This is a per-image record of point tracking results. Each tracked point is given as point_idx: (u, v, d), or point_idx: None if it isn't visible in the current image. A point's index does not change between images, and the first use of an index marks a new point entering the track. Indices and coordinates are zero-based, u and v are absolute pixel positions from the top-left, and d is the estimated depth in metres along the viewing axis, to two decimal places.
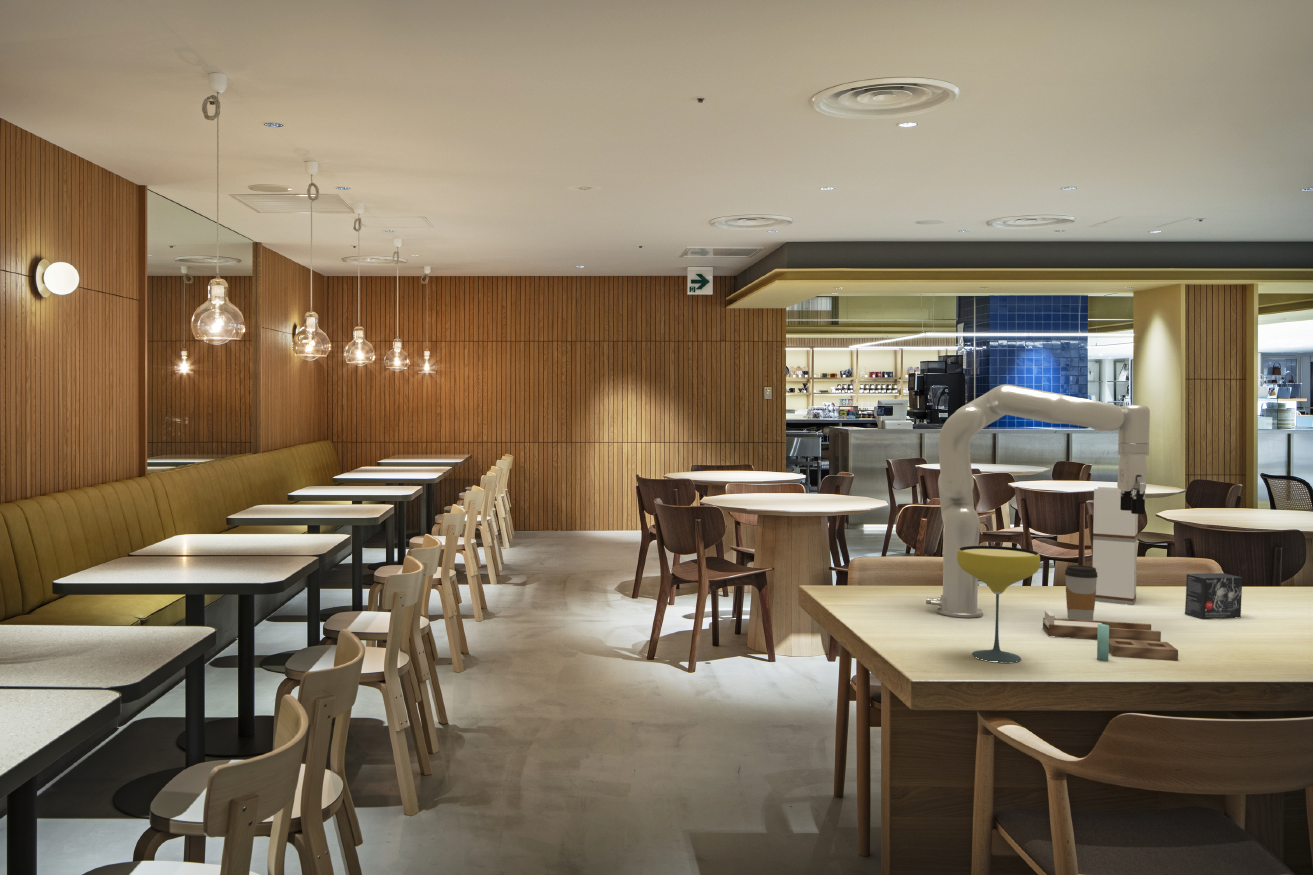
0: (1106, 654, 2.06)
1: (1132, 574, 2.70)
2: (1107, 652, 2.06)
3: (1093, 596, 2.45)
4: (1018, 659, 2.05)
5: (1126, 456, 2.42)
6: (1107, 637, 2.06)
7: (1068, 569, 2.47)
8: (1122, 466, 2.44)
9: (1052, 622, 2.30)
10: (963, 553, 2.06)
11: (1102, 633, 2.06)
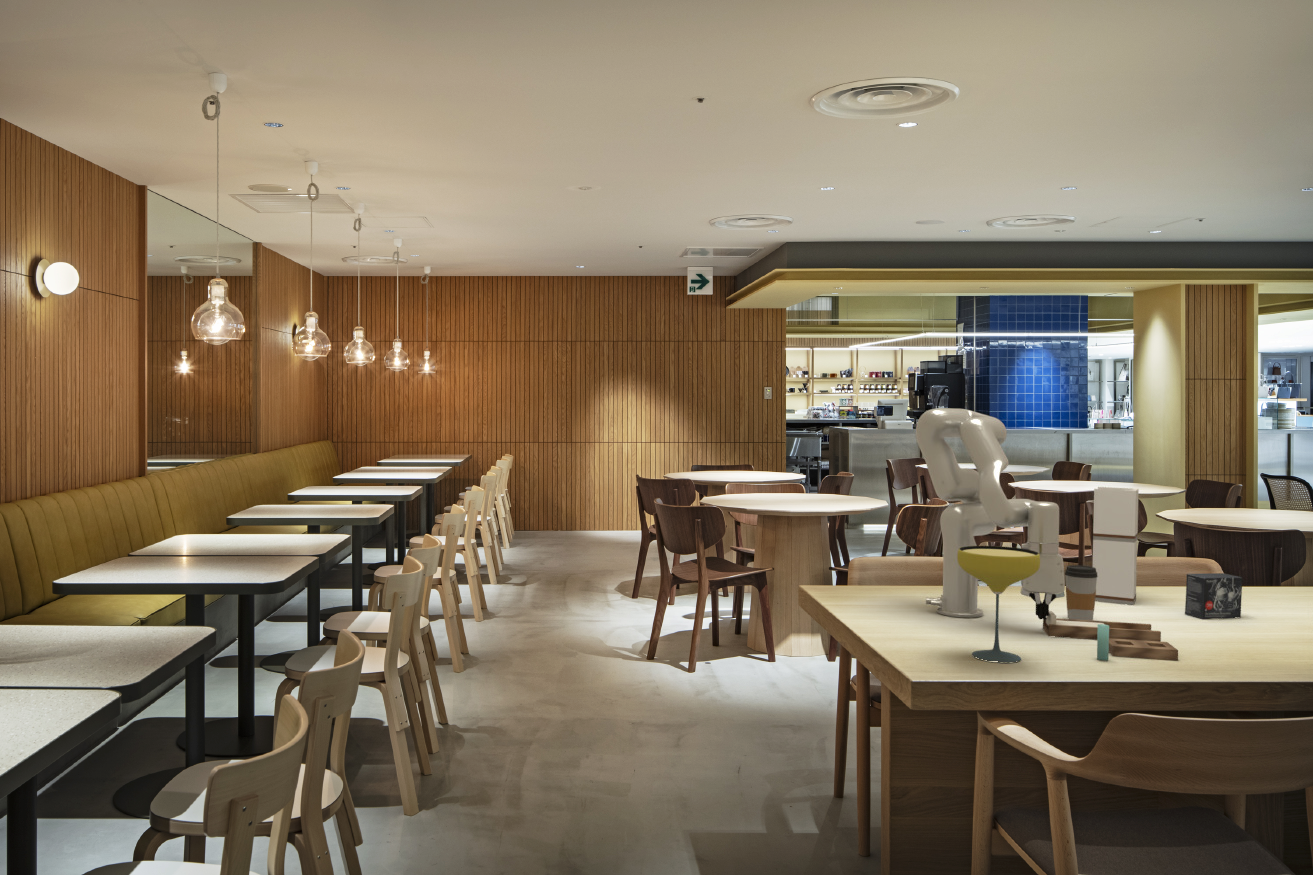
0: (1106, 654, 2.06)
1: (1132, 574, 2.70)
2: (1107, 652, 2.06)
3: (1093, 596, 2.45)
4: (1018, 659, 2.05)
5: (1055, 557, 2.30)
6: (1107, 637, 2.06)
7: (1068, 569, 2.47)
8: (1046, 567, 2.30)
9: (1054, 622, 2.30)
10: (963, 553, 2.06)
11: (1102, 633, 2.06)
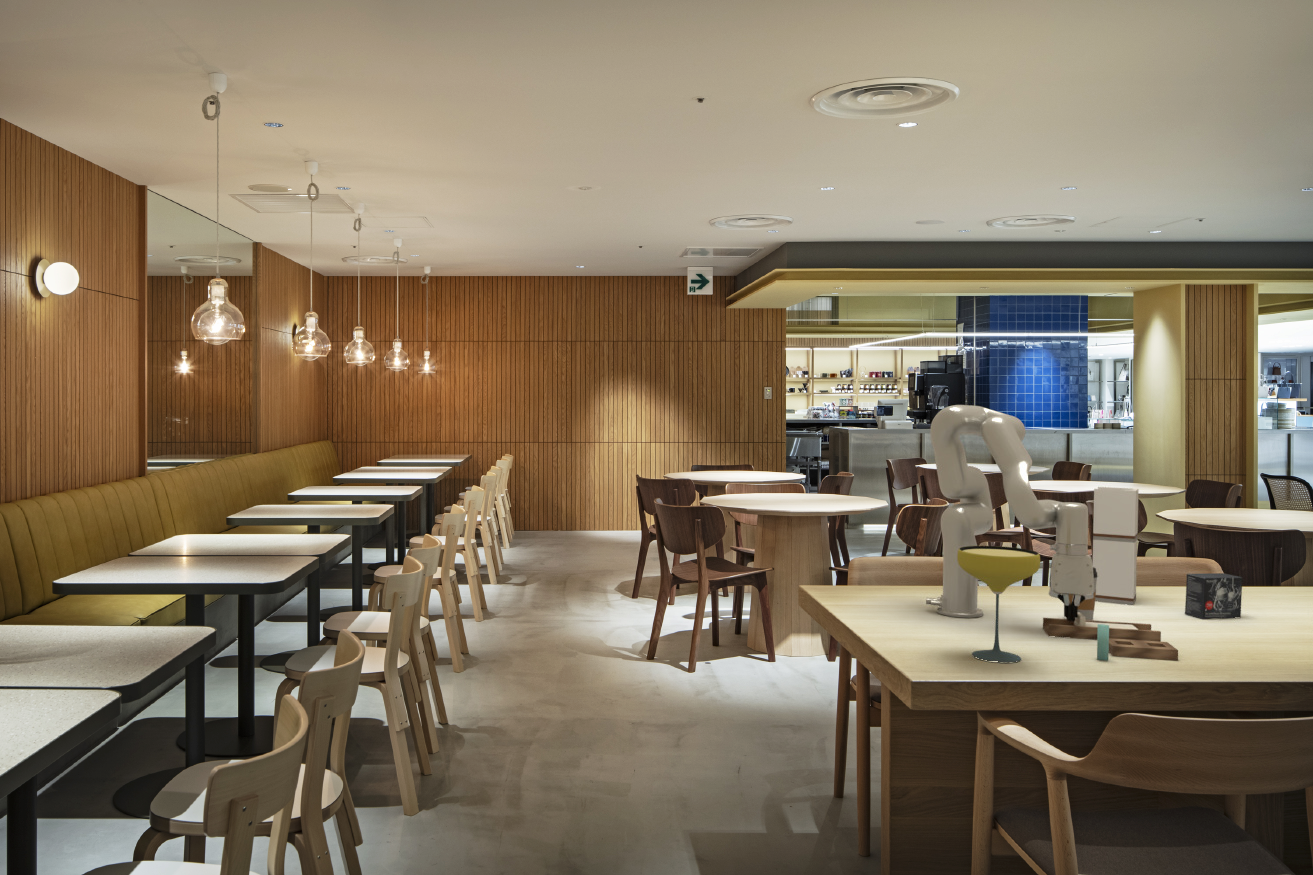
0: (1106, 654, 2.06)
1: (1132, 574, 2.70)
2: (1107, 652, 2.06)
3: None
4: (1018, 659, 2.05)
5: (1084, 558, 2.28)
6: (1107, 637, 2.06)
7: None
8: (1075, 569, 2.29)
9: (1083, 624, 2.28)
10: (963, 553, 2.06)
11: (1102, 633, 2.06)
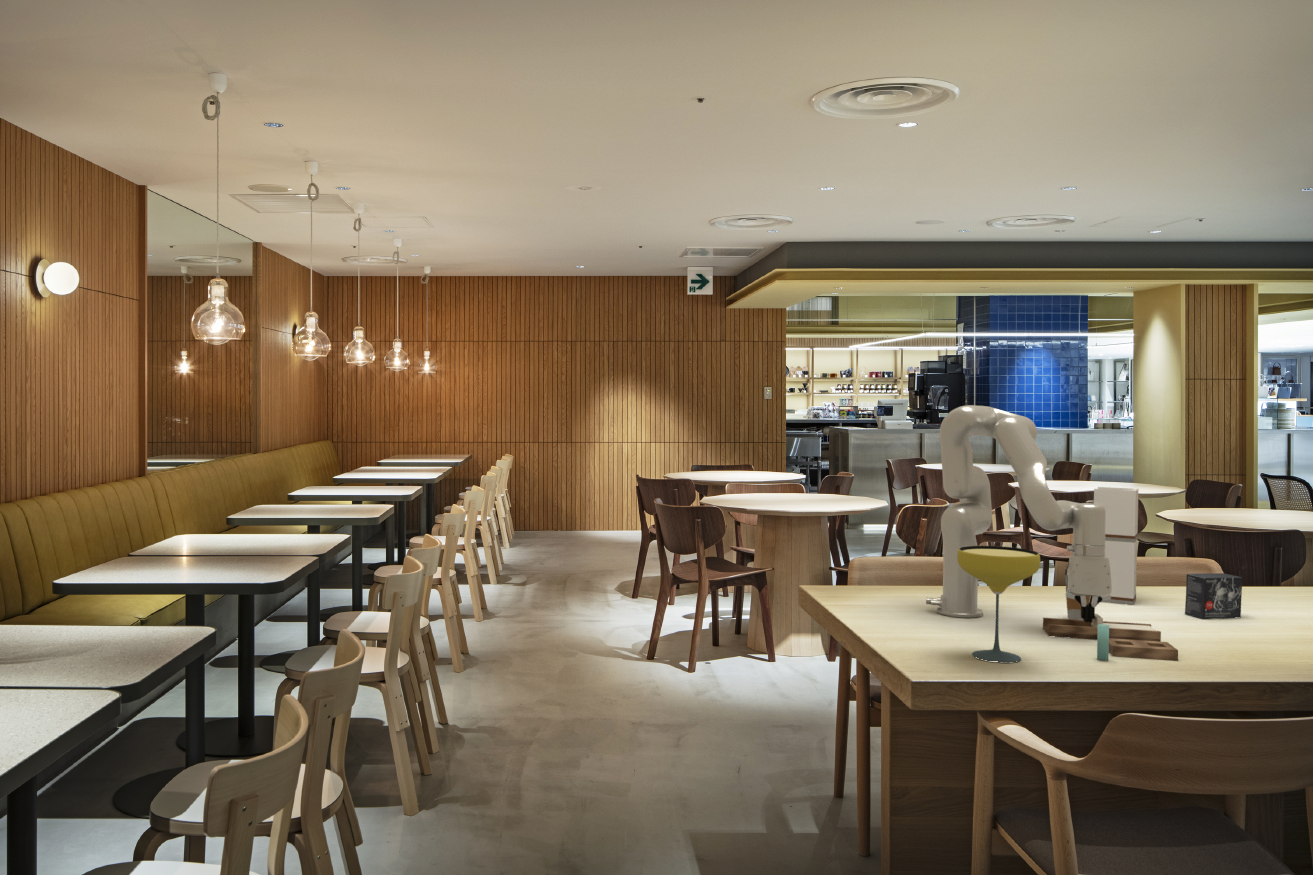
0: (1106, 654, 2.06)
1: (1132, 574, 2.70)
2: (1107, 652, 2.06)
3: None
4: (1018, 659, 2.05)
5: (1102, 559, 2.27)
6: (1107, 637, 2.06)
7: None
8: (1093, 570, 2.28)
9: None
10: (963, 553, 2.06)
11: (1102, 633, 2.06)
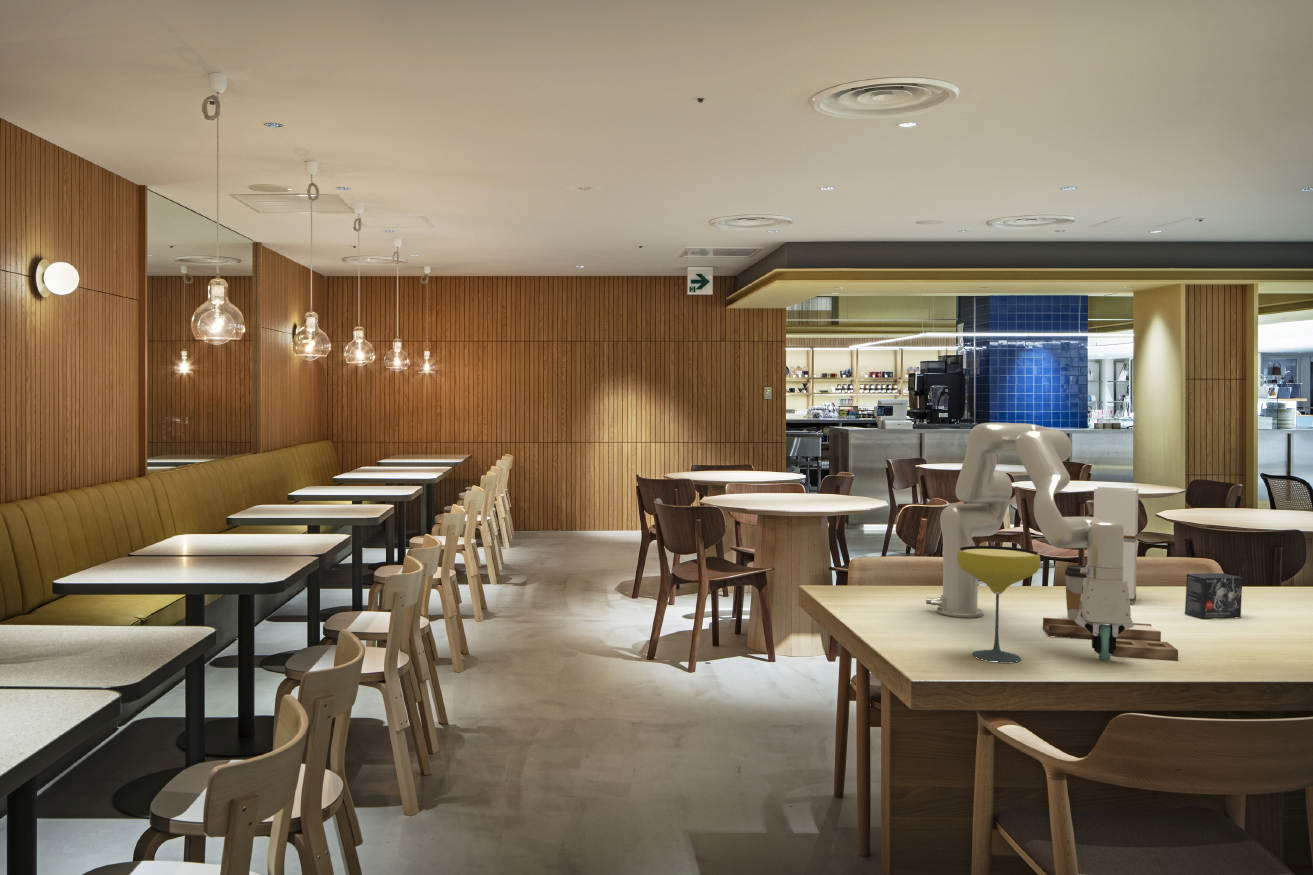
0: (1107, 654, 2.06)
1: (1132, 574, 2.70)
2: (1108, 652, 2.06)
3: None
4: (1018, 659, 2.05)
5: (1120, 583, 2.04)
6: (1108, 637, 2.06)
7: (1068, 569, 2.47)
8: (1109, 595, 2.04)
9: None
10: (963, 553, 2.06)
11: (1103, 633, 2.06)
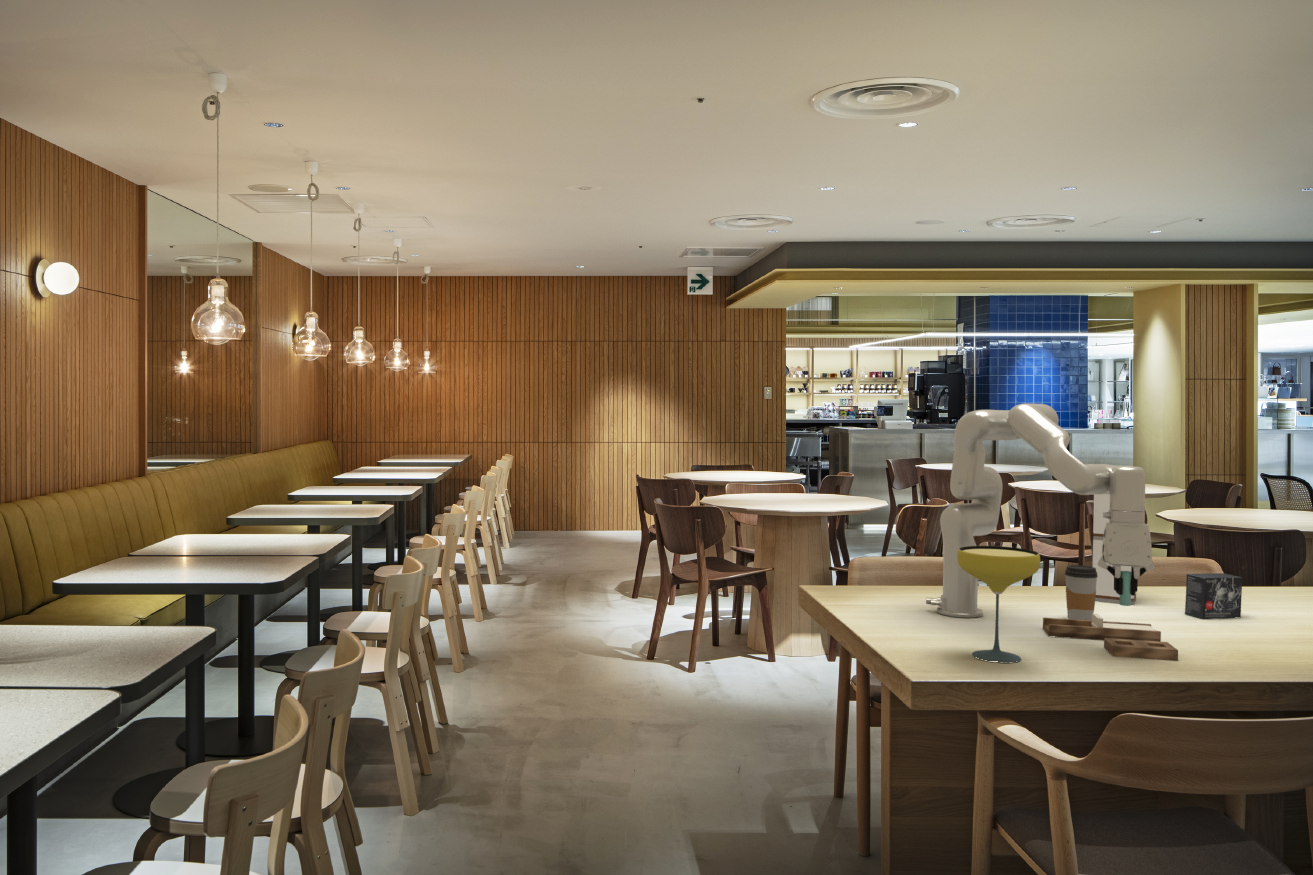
0: (1128, 599, 2.12)
1: None
2: (1129, 597, 2.12)
3: (1093, 596, 2.45)
4: (1018, 659, 2.05)
5: (1142, 526, 2.10)
6: (1129, 583, 2.12)
7: (1068, 569, 2.47)
8: (1131, 538, 2.10)
9: (1101, 625, 2.27)
10: (963, 553, 2.06)
11: (1124, 579, 2.12)
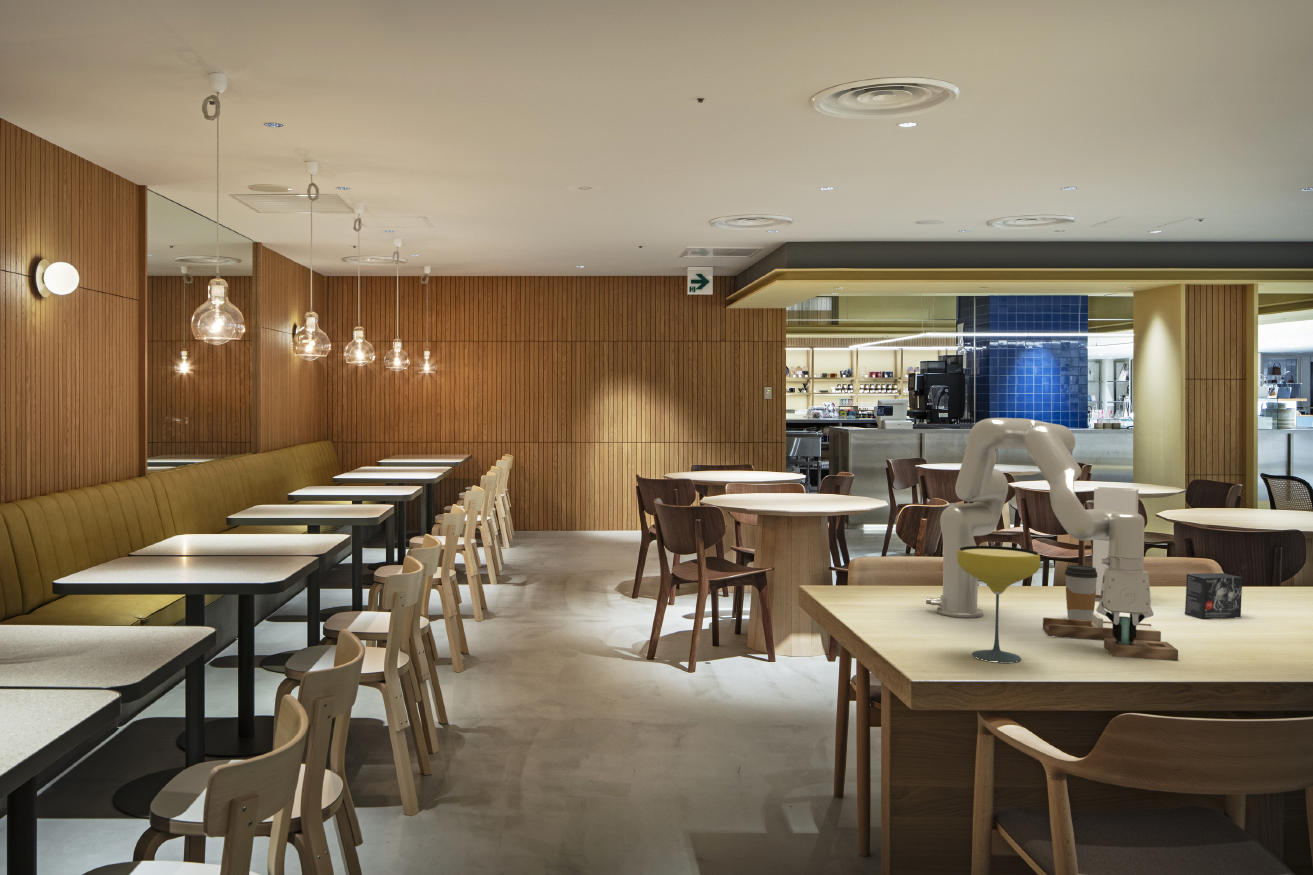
0: None
1: None
2: (1128, 643, 2.12)
3: (1093, 596, 2.45)
4: (1018, 659, 2.05)
5: (1140, 573, 2.10)
6: (1128, 629, 2.12)
7: (1068, 569, 2.47)
8: (1130, 585, 2.10)
9: (1101, 625, 2.27)
10: (963, 553, 2.06)
11: (1123, 625, 2.12)
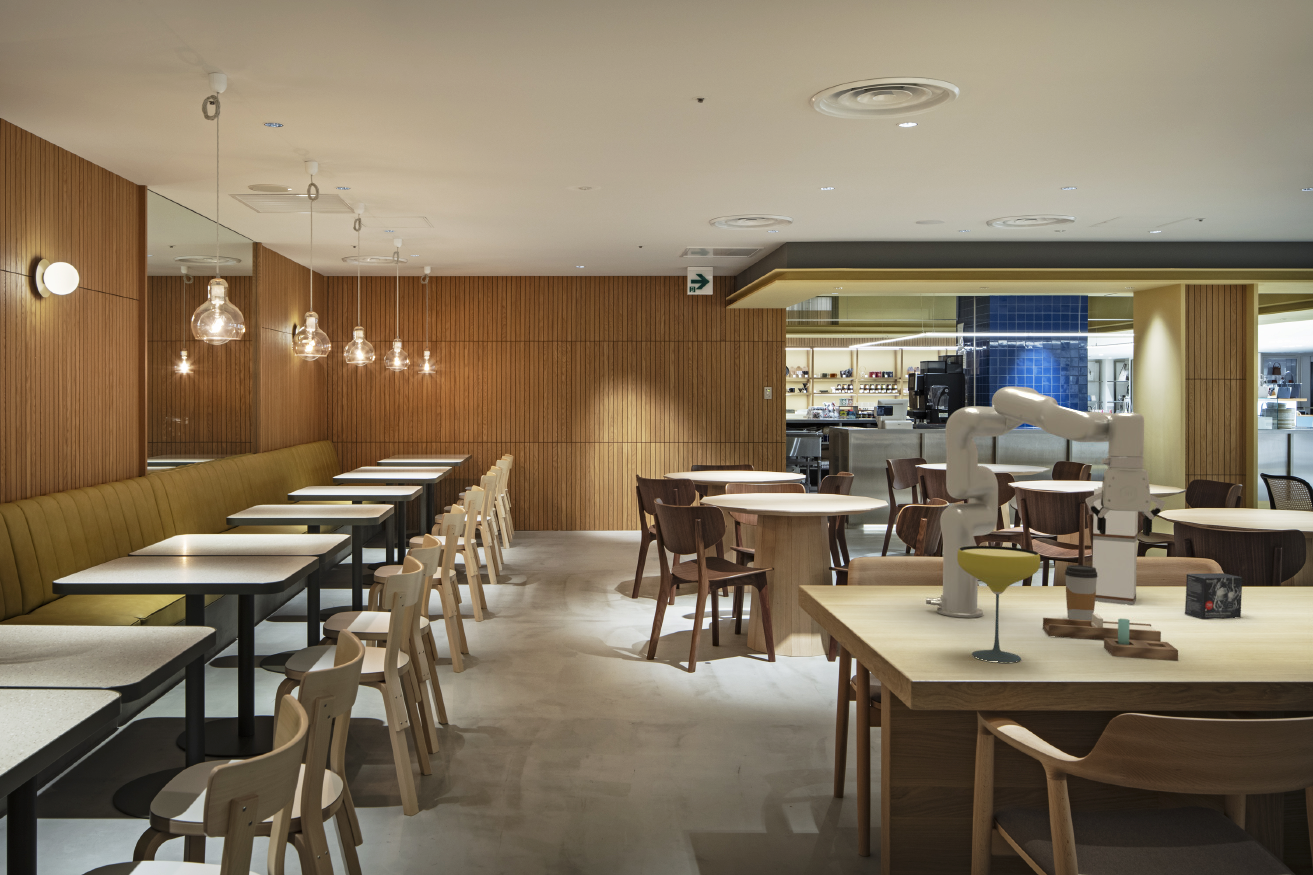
0: None
1: (1132, 574, 2.70)
2: None
3: (1093, 596, 2.45)
4: (1018, 659, 2.05)
5: (1140, 471, 2.11)
6: (1127, 631, 2.12)
7: (1068, 569, 2.47)
8: (1130, 483, 2.12)
9: (1101, 625, 2.27)
10: (963, 553, 2.06)
11: (1122, 627, 2.12)
